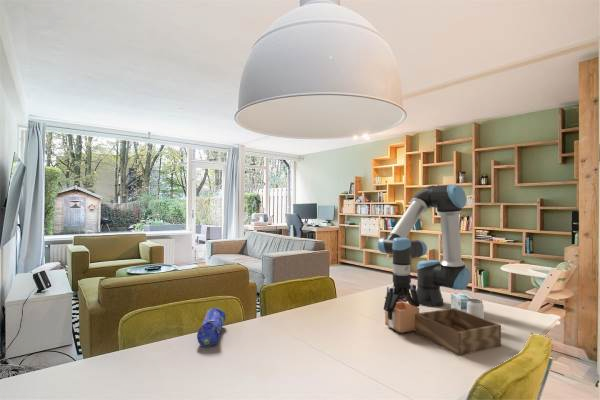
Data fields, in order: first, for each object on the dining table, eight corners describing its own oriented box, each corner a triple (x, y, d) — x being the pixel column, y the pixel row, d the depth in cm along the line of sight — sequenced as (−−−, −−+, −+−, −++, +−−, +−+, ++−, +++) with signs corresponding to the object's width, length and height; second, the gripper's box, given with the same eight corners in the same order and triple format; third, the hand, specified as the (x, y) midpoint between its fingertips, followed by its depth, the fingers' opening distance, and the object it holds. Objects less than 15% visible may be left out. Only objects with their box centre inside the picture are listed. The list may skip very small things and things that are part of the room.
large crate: (454, 325, 144) (454, 307, 144) (500, 346, 124) (500, 325, 124) (415, 332, 136) (415, 313, 136) (458, 355, 116) (458, 333, 116)
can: (466, 328, 141) (466, 301, 141) (466, 324, 147) (466, 297, 147) (483, 331, 138) (483, 303, 138) (483, 326, 144) (483, 299, 144)
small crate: (403, 321, 146) (403, 301, 146) (419, 329, 137) (419, 308, 137) (385, 324, 142) (385, 303, 143) (400, 332, 133) (400, 311, 133)
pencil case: (219, 348, 121) (219, 322, 121) (195, 349, 120) (196, 323, 120) (225, 326, 142) (225, 304, 143) (205, 326, 141) (205, 305, 141)
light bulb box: (475, 322, 149) (475, 299, 149) (460, 322, 149) (460, 298, 149) (464, 314, 160) (464, 292, 160) (450, 314, 160) (450, 292, 160)
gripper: (385, 277, 132) (385, 332, 132) (428, 273, 141) (428, 324, 140) (374, 274, 139) (374, 325, 139) (416, 269, 148) (416, 318, 147)
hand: (401, 325), depth 140 cm, fingers closed on small crate, 10 cm apart
